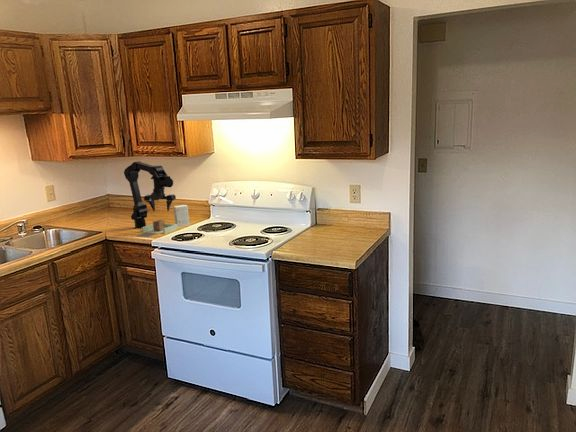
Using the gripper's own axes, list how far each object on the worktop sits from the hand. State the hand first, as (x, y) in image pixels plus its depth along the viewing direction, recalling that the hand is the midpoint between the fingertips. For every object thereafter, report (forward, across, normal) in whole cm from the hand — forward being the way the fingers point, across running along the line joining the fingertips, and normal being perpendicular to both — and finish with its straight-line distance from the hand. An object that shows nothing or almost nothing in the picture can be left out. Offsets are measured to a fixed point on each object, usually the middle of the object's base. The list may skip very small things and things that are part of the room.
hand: (161, 211), depth 293 cm
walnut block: (+12, -2, -1) cm, 12 cm away
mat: (+12, -5, -12) cm, 18 cm away
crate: (+12, -2, 0) cm, 13 cm away
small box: (+13, +8, +14) cm, 20 cm away
